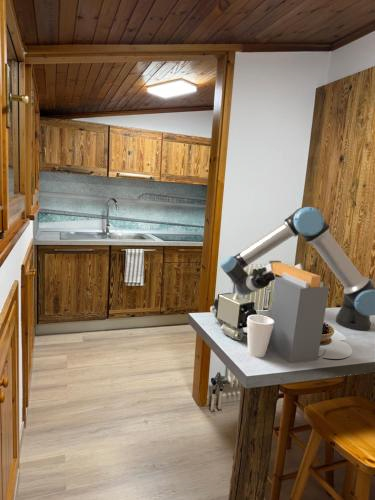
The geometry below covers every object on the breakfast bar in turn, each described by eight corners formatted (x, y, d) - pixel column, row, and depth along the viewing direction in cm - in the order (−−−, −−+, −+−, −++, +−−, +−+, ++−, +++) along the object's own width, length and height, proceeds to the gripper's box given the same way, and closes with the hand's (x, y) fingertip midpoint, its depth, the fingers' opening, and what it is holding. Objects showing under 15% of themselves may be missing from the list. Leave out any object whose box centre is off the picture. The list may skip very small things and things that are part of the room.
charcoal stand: (291, 341, 140) (301, 272, 135) (317, 359, 126) (329, 282, 121) (266, 344, 135) (275, 272, 131) (290, 362, 122) (301, 283, 117)
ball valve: (256, 343, 136) (262, 299, 133) (240, 347, 131) (246, 302, 128) (225, 326, 150) (230, 286, 147) (210, 329, 145) (214, 288, 142)
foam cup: (238, 349, 129) (242, 316, 127) (257, 345, 133) (261, 313, 131) (255, 361, 121) (259, 325, 118) (275, 356, 125) (279, 322, 123)
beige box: (205, 304, 154) (222, 302, 160) (203, 320, 155) (220, 317, 161) (218, 311, 146) (236, 308, 152) (217, 327, 148) (234, 324, 153)
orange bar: (277, 272, 142) (279, 260, 141) (319, 288, 121) (321, 275, 120) (267, 272, 140) (269, 260, 139) (309, 289, 119) (311, 275, 118)
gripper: (283, 288, 156) (314, 275, 137) (234, 289, 147) (260, 276, 128) (280, 272, 158) (310, 257, 140) (231, 272, 150) (257, 257, 131)
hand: (286, 266), depth 134 cm, fingers open, 13 cm apart
